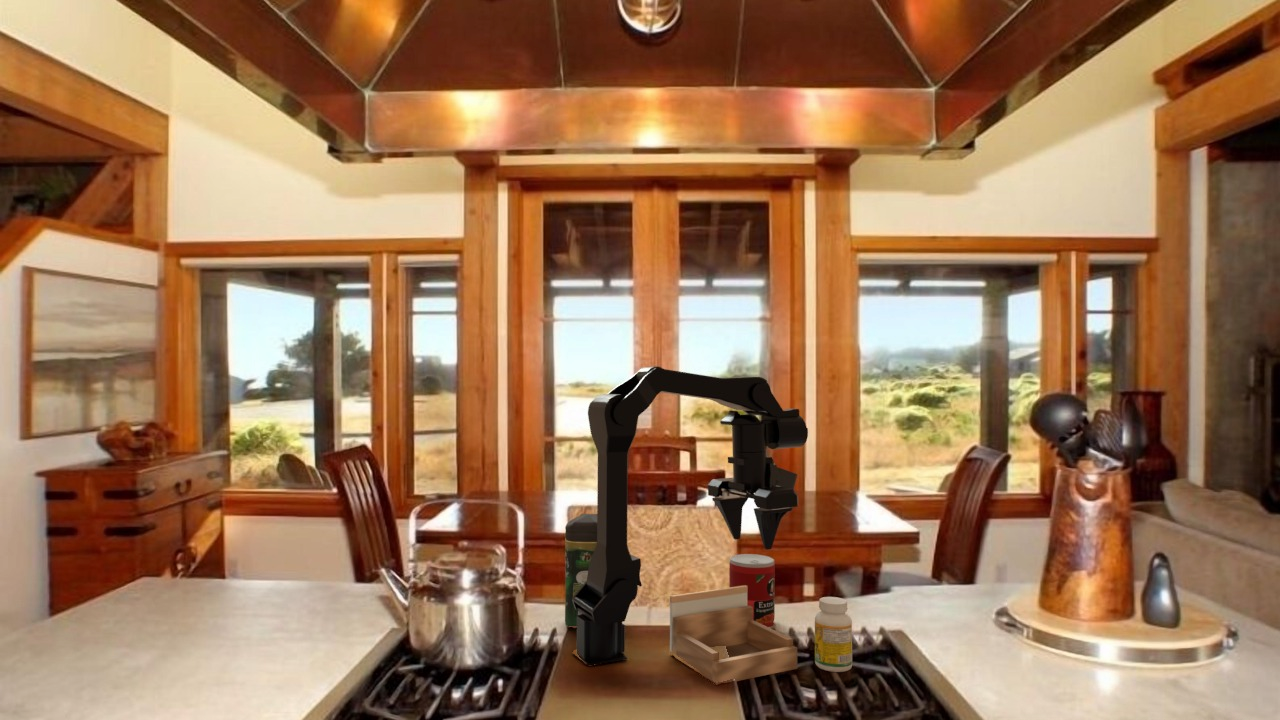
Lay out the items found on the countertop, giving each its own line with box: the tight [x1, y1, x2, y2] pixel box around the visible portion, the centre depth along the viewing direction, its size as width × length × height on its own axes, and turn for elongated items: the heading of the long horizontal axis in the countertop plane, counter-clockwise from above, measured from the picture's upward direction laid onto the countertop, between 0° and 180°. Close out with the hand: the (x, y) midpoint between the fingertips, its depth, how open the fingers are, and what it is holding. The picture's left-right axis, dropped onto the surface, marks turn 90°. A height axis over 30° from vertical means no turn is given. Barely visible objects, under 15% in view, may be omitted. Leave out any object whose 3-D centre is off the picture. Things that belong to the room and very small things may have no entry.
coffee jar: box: [564, 513, 597, 628], centre depth 131 cm, size 10×8×19 cm
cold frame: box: [673, 606, 798, 683], centre depth 113 cm, size 14×12×6 cm
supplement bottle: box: [814, 596, 853, 673], centre depth 112 cm, size 5×5×10 cm
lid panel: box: [669, 585, 748, 652], centre depth 119 cm, size 14×1×9 cm, turn 117°
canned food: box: [728, 553, 776, 628], centre depth 133 cm, size 8×8×11 cm
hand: (752, 544), depth 127 cm, fingers open, 9 cm apart
